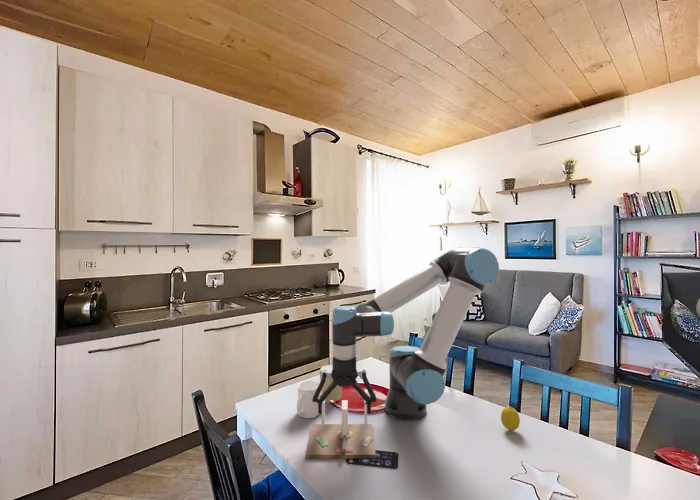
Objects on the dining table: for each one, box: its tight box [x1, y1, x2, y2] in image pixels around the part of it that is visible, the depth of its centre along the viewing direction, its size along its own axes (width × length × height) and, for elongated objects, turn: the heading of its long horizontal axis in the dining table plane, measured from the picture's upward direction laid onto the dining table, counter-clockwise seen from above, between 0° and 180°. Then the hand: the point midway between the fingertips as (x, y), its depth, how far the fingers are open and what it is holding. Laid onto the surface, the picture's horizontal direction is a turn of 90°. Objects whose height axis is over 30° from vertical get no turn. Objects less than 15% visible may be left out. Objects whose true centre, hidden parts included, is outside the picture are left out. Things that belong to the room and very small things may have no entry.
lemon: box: [500, 405, 521, 432], centre depth 108 cm, size 6×6×8 cm
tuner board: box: [305, 423, 376, 460], centre depth 102 cm, size 20×16×1 cm
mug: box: [296, 380, 322, 419], centre depth 118 cm, size 12×8×10 cm
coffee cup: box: [319, 364, 343, 404], centre depth 131 cm, size 9×9×12 cm
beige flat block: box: [341, 399, 349, 452], centre depth 101 cm, size 2×13×9 cm, turn 179°
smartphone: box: [344, 449, 400, 471], centre depth 95 cm, size 8×1×15 cm
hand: (344, 423), depth 104 cm, fingers open, 13 cm apart
